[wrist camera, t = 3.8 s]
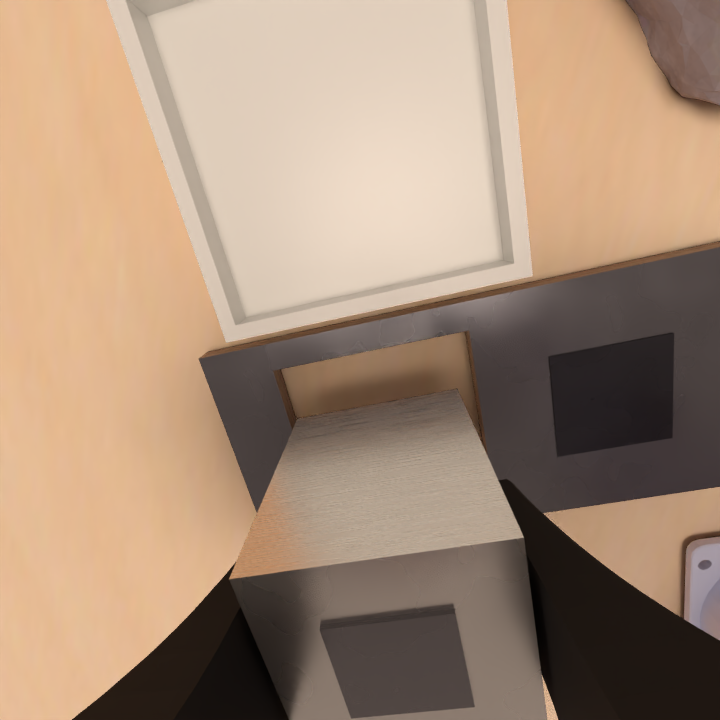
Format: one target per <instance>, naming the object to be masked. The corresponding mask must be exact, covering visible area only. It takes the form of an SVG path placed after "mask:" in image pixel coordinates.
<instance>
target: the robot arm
mask: <svg viewBox="0 0 720 720" xmlns="http://www.w3.org/2000/svg"><path fill="white" fill-rule="evenodd" d="M498 481H499V483H500V485H501V487H502V490H503V492H504V494H505V496H506V499H507V501H508V503H509V505H510V508H511V510H512V512H513V514H514V517H515V519H516V521H517V523H518V525H519V528H520V530H521V532H522V534H523V537H524V542H525V550H526V557H527V565H528V573H529V581H530V589H531V596H532V604H533V612H534V620H535V628H536V635H537V643H538V651H539V659H540V667H541V673H542V676H543V678H544V681H545V683H546V686H547V689H548V691H549V694H550V697H551V699H552V702H553V705H554V707H555V710H556V713H557V717H558V720H720V537H713V538H705V539H698V540H695V541H693V542H691V543H690V544H689V545H688V546H687V549H686V571H685V603H684V619H683V618H681V617H679V616H678V615H676V614H674V613H673V612H671V611H669V610H668V609H666V608H665V607H663V606H662V605H660V604H659V603H657V602H656V601H654V600H653V599H651V598H650V597H648V596H646V595H645V594H644V593H642V592H641V591H639V590H638V589H636V588H635V587H633V586H632V585H631V584H629V583H628V582H626V581H625V580H623V579H622V578H621V577H619V576H618V575H617V574H615V573H614V572H612V571H611V570H610V569H608V568H607V567H606V566H604V565H603V564H602V563H601V562H599V561H598V560H597V559H595V558H594V557H593V556H592V555H590V554H589V553H588V552H587V551H585V550H584V549H583V548H582V547H580V546H579V545H578V544H577V543H576V542H574V541H573V540H572V539H571V538H570V537H569V536H567V535H566V534H565V533H564V532H563V531H562V530H561V529H559V528H558V527H557V526H556V525H555V524H554V523H553V522H552V521H550V520H549V519H548V518H547V517H546V516H545V515H544V514H543V513H542V512H541V511H540V510H539V509H538V508H537V507H536V506H535V505H533V504H532V503H531V502H530V501H529V500H528V499H527V498H526V497H525V496H524V494H523V493H522V492H521V491H520V490H519V489H518V488H517V487H516V486H515V485H514V484H513V483H512V482H511V481H510V480H508V479H503V480H498ZM236 562H237V561H236ZM235 564H236V563H235ZM235 564H234V565H233V566H232V568H231V569H230V570H229V571H228V572H227V574H226V575H225V576H224V577H223V578H222V579H221V581H220V582H219V583H218V584H217V585H216V586H215V587H214V588H213V589H212V591H211V592H210V593H209V594H208V595H207V596H206V597H205V598H204V600H203V601H202V602H201V603H200V604H199V605H198V606H197V607H196V608H195V610H194V611H193V612H192V613H191V614H190V615H189V616H188V617H187V618H186V619H185V620H184V621H183V622H182V623H181V624H180V625H179V626H178V627H177V628H176V629H175V630H174V631H173V632H172V633H171V634H170V635H169V636H168V637H167V638H166V639H165V640H164V641H163V642H162V643H161V644H160V645H159V646H158V647H157V648H156V649H155V650H153V651H152V652H151V653H150V654H149V655H148V656H147V657H146V658H145V659H144V660H142V661H141V662H140V663H139V664H138V665H137V666H136V667H134V668H133V669H132V670H131V671H130V672H129V673H128V674H126V675H125V676H124V677H123V678H122V679H121V680H119V681H118V682H117V683H116V684H115V685H114V686H113V687H111V688H110V689H109V690H108V691H107V692H106V693H104V694H103V695H102V696H101V697H100V698H98V699H97V700H96V701H95V702H93V703H92V704H91V705H90V706H88V707H87V708H86V709H85V710H83V711H82V712H81V713H80V714H78V715H77V716H76V717H75V718H73V719H72V720H289V718H288V716H287V714H286V711H285V709H284V707H283V704H282V702H281V700H280V697H279V695H278V693H277V690H276V688H275V686H274V683H273V681H272V679H271V676H270V674H269V672H268V669H267V667H266V665H265V662H264V660H263V658H262V655H261V653H260V651H259V648H258V646H257V644H256V641H255V639H254V637H253V634H252V632H251V630H250V627H249V625H248V623H247V620H246V618H245V616H244V613H243V611H242V609H241V606H240V604H239V602H238V599H237V597H236V595H235V592H234V590H233V588H232V585H231V583H230V581H229V578H230V576H231V573H232V571H233V569H234V566H235Z"/></svg>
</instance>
